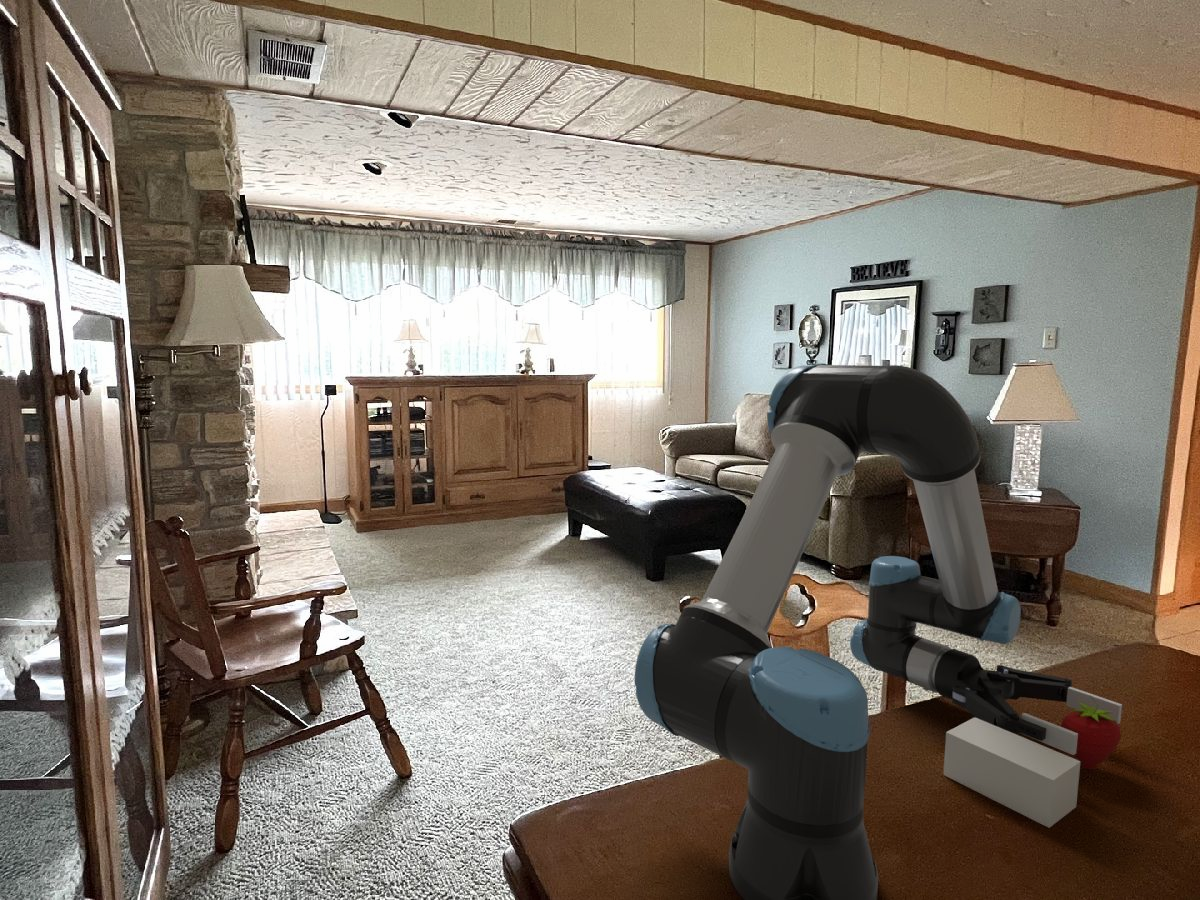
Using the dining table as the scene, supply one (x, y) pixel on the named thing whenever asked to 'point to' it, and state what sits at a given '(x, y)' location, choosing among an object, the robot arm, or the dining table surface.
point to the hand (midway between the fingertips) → (1099, 728)
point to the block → (1012, 770)
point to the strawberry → (1092, 734)
